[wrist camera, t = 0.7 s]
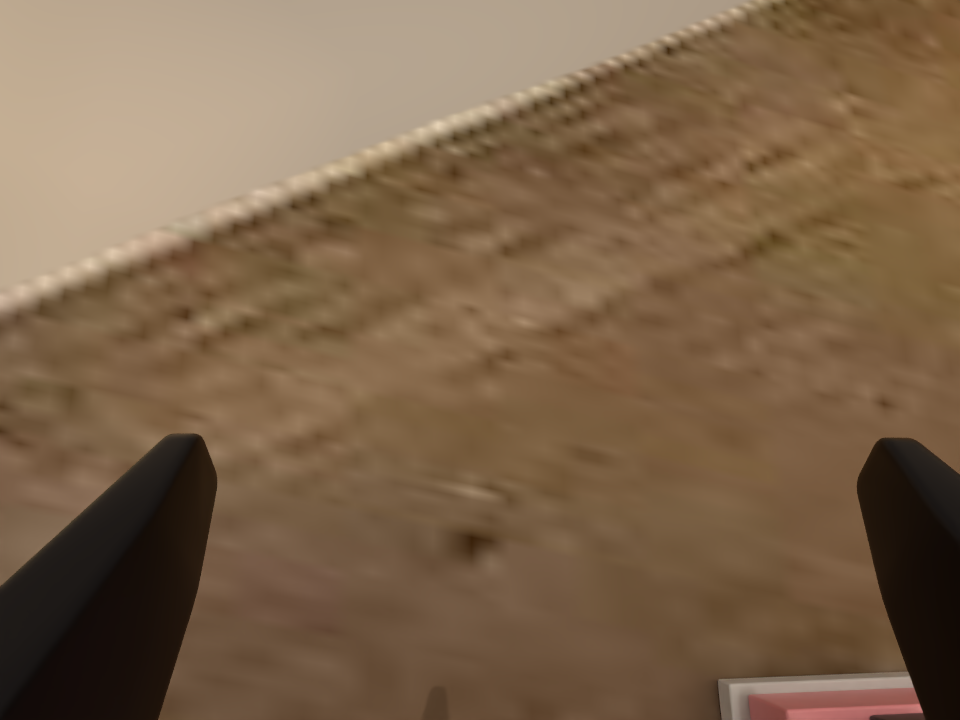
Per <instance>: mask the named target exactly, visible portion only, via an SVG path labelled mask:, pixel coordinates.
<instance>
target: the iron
mask: <svg viewBox="0 0 960 720" xmlns="http://www.w3.org/2000/svg"><path fill="white" fill-rule="evenodd" d="M718 689H719V699H720V708H721V718H722V720H925V717H924V714H923V712H922V709H921V706H920V703H919V701H918V698H917V695H916V692H915V689H914V687H913V684H912V681H911V678H910V675H909V673H908V672H883V673H858V674H834V675H809V676H784V677H760V678H735V679H719V680H718Z"/></svg>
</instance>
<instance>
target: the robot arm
mask: <svg viewBox="0 0 960 720" xmlns="http://www.w3.org/2000/svg"><path fill="white" fill-rule="evenodd" d="M216 491H217V475H216V471H215V468H214V465H213V463H212V460H211V458H210V455H209V452H208V450H207V447H206V445H205V442H204V440H203V438H202V437H201V436H200V435H198V434H170V435H168V436H166V437H164V438H163V439H162V440H161V441H160V442H159V443H158V444H157V445H155V446H154V447H153V448H152V449H151V450H150V451H149V452H148V453H147V454H146V455H144V456H143V457H142V458H141V459H140V460H139V461H138V462H137V463H136V464H135V465H133V466H132V467H131V468H130V469H129V470H128V471H127V472H126V473H125V474H124V475H122V476H121V477H120V478H119V479H118V480H117V481H116V482H115V483H114V484H113V485H111V486H110V487H109V488H108V489H107V490H106V491H105V492H104V493H103V494H102V495H100V496H99V497H98V498H97V499H96V500H95V501H94V502H93V503H92V504H91V505H89V506H88V507H87V508H86V509H85V510H84V511H83V512H82V513H81V514H80V515H78V516H77V517H76V518H75V519H74V520H73V521H72V522H71V523H70V524H69V525H67V526H66V527H65V528H64V529H63V530H62V531H61V532H60V533H59V534H58V535H56V536H55V537H54V538H53V539H52V540H51V541H50V542H49V543H48V544H47V545H45V546H44V547H43V548H42V549H41V550H40V551H39V552H38V553H37V554H36V555H34V556H33V557H32V558H31V559H30V560H29V561H28V562H27V563H26V564H25V565H23V566H22V567H21V568H20V569H19V570H18V571H17V572H16V573H15V574H14V575H12V576H11V577H10V578H9V579H8V580H7V581H6V582H5V583H4V584H3V585H1V586H0V720H158V718H159V715H160V712H161V708H162V705H163V702H164V699H165V695H166V692H167V689H168V686H169V683H170V679H171V676H172V673H173V670H174V666H175V663H176V660H177V657H178V654H179V650H180V647H181V644H182V641H183V638H184V634H185V631H186V628H187V625H188V621H189V618H190V615H191V612H192V608H193V605H194V601H195V598H196V594H197V590H198V586H199V581H200V576H201V571H202V566H203V560H204V555H205V550H206V544H207V539H208V534H209V528H210V523H211V518H212V512H213V507H214V501H215V496H216ZM857 494H858V499H859V503H860V507H861V512H862V516H863V520H864V524H865V529H866V533H867V537H868V541H869V546H870V550H871V554H872V559H873V563H874V567H875V571H876V576H877V580H878V584H879V588H880V591H881V595H882V599H883V602H884V605H885V608H886V611H887V614H888V617H889V620H890V623H891V625H892V628H893V631H894V634H895V636H896V639H897V642H898V645H899V648H900V650H901V653H902V656H903V659H904V662H905V664H906V667H907V670H908V673H909V675H910V678H911V681H912V684H913V687H914V689H915V692H916V695H917V698H918V701H919V703H920V706H921V709H922V712H923V714H924V717H925V720H960V474H958V473H957V472H956V471H955V470H953V469H952V468H951V467H950V466H948V465H947V464H946V463H945V462H943V461H942V460H941V459H939V458H938V457H937V456H936V455H934V454H933V453H932V452H931V451H929V450H928V449H927V448H926V447H924V446H923V445H922V444H921V443H919V442H918V441H916V440H914V439H911V438H881V439H880V440H879V441H877V442H876V444H875V445H874V447H873V449H872V451H871V453H870V455H869V457H868V459H867V461H866V463H865V465H864V467H863V468H862V470H861V472H860V474H859V477H858V481H857Z"/></svg>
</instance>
